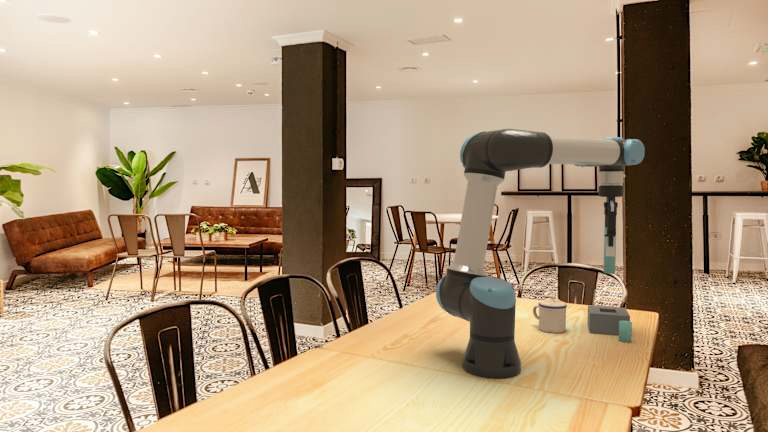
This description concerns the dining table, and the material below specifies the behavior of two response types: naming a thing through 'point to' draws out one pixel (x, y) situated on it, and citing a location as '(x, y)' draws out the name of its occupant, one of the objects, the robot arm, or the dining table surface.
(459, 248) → the robot arm
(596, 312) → the hole block
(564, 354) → the dining table surface
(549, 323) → the teacup with lid
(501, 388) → the dining table surface
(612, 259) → the long pin
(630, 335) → the short pin
